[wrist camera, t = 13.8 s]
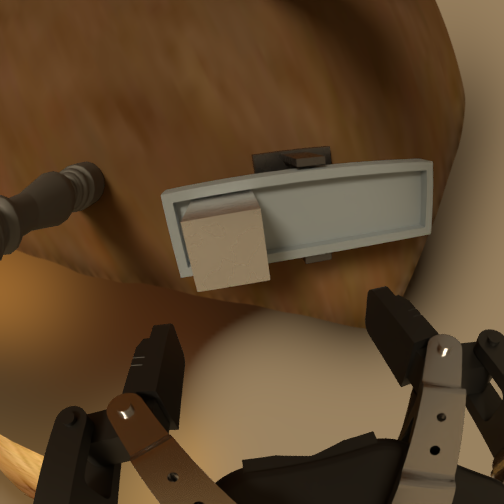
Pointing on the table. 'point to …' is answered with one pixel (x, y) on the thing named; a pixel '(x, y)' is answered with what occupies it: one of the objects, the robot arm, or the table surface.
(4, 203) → the candle holder
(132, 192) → the table surface
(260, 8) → the table surface
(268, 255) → the beam
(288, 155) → the pivot stand
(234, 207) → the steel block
